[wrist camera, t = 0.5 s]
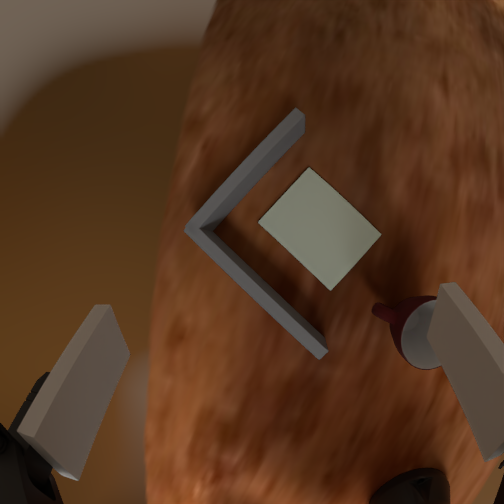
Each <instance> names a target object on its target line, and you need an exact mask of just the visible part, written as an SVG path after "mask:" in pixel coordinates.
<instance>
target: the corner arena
mask: <svg viewBox="0 0 504 504" xmlns="http://www.w3.org/2000/svg"><path fill="white" fill-rule="evenodd" d="M304 133H305V114H303V113H302V112H301V111H299V110H298V109H297V108H295V109H294V110H293V111H292V112H291V113H290V114H289V115H288V116H287V117H286V118H285V119H284V120H283V121H282V122H281V123H280V124H279V125H278V126H277V127H276V128H275V129H274V130H273V131H272V132H271V133H270V134H269V135H268V136H267V137H266V138H265V139H264V140H263V141H262V142H261V143H260V144H259V145H258V146H257V147H256V148H255V149H254V151H253V152H252V153H251V154H250V155H249V156H248V157H247V158H246V159H245V160H244V161H243V162H242V163H241V164H240V165H239V166H238V167H237V169H236V170H235V171H234V172H233V173H232V174H231V175H230V176H229V177H228V178H227V179H226V180H225V182H224V183H223V184H222V185H221V186H220V187H219V188H218V189H217V190H216V191H215V193H214V194H213V195H212V196H211V197H210V198H209V199H208V200H207V202H206V203H205V204H204V205H203V206H202V207H201V208H200V209H199V211H198V212H197V213H196V214H195V215H194V216H193V217H192V219H191V220H190V221H189V222H188V223H187V224H186V225H185V227H186V228H185V230H184V232H185V233H186V234H187V235H188V236H189V237H190V238H191V239H192V240H193V241H194V242H195V243H196V244H197V245H198V246H199V247H200V248H201V249H202V250H203V251H205V252H206V253H207V254H208V255H209V256H210V257H211V258H212V259H213V260H214V261H215V262H216V263H217V264H218V265H219V266H220V267H221V268H222V269H223V270H224V271H225V272H226V273H227V274H228V275H229V276H230V277H231V278H232V279H233V280H234V281H235V282H236V283H237V284H238V285H239V286H241V287H242V288H243V289H244V290H245V291H246V292H247V293H248V294H249V295H250V296H251V297H252V298H253V299H254V300H255V301H256V302H257V303H258V304H259V305H260V306H261V307H263V308H264V309H265V310H266V311H267V312H268V313H269V314H270V315H271V316H272V317H273V318H274V319H275V320H276V321H277V322H278V323H280V324H281V325H282V326H283V327H284V328H285V329H286V330H287V331H288V332H289V333H290V334H291V335H292V336H293V337H295V338H296V339H297V340H298V341H299V342H300V343H301V344H302V345H303V346H304V347H305V348H306V349H308V350H309V351H310V352H311V353H312V354H313V355H314V356H315V357H316V358H317V359H318V360H320V359H321V358H322V357H323V356H324V355H325V354H326V353H327V352H328V348H327V344H326V340H325V337H324V336H323V335H321V334H320V333H319V332H318V331H317V330H316V329H315V328H314V327H313V326H312V325H311V324H310V323H309V322H308V321H307V320H305V319H304V318H303V317H302V316H301V315H300V314H299V313H298V312H297V311H296V310H295V309H294V308H293V307H292V306H291V305H290V304H288V303H287V302H286V301H285V300H284V299H283V298H282V297H281V296H280V295H279V294H278V293H277V292H276V291H275V290H274V289H273V288H272V287H271V286H269V285H268V284H267V283H266V282H265V281H264V280H263V279H262V278H261V277H260V276H259V275H258V274H257V273H256V272H255V271H254V270H253V269H252V268H251V267H249V266H248V265H247V264H246V263H245V262H244V261H243V260H242V259H241V258H240V257H239V256H238V255H237V254H236V253H235V252H234V251H233V250H232V249H231V248H230V247H229V246H228V245H226V244H225V243H224V242H223V241H222V240H221V239H220V238H219V237H218V236H217V235H216V234H215V233H214V232H213V230H214V229H215V228H216V227H217V226H218V225H219V224H220V223H221V222H222V220H223V219H224V218H225V217H226V216H227V215H228V214H229V213H230V212H231V210H232V209H233V208H234V207H235V206H236V205H237V204H238V203H239V202H240V201H241V200H242V198H243V197H244V196H245V195H246V194H247V193H248V192H249V191H250V190H251V189H252V188H253V187H254V185H255V184H256V183H257V182H258V181H259V180H260V179H261V178H262V177H263V176H264V175H265V174H266V173H267V172H268V170H269V169H270V168H271V167H272V166H273V165H274V164H275V163H276V162H277V161H278V160H279V159H280V158H281V157H282V156H283V155H284V154H285V153H286V151H287V150H288V149H289V148H290V147H291V146H292V145H293V144H294V143H295V142H296V141H297V140H298V139H299V138H300V137H301V136H302V135H303V134H304ZM258 223H259V224H260V225H261V226H262V227H263V228H264V229H266V230H267V231H268V232H269V233H270V234H271V235H272V236H273V237H274V238H275V239H276V240H277V241H278V242H279V243H281V244H282V245H283V246H284V247H285V248H286V249H287V250H288V251H289V252H290V253H291V254H292V255H293V256H294V257H295V258H297V259H298V260H299V261H300V262H301V263H302V264H303V265H304V266H305V267H306V268H307V269H308V270H309V271H310V272H311V273H312V274H313V275H314V276H316V277H317V278H318V279H319V280H320V281H321V282H322V283H323V284H324V285H325V286H326V287H327V288H328V289H329V290H330V291H331V290H332V289H333V288H334V287H335V286H336V285H337V283H338V282H339V281H340V280H341V279H342V278H343V277H344V276H345V275H346V274H347V273H348V272H349V271H350V269H351V268H352V267H353V266H354V265H355V264H356V263H357V262H358V261H359V260H360V258H361V257H362V256H363V255H364V254H365V253H366V252H367V251H368V249H369V248H370V247H371V246H372V245H373V244H374V243H375V241H376V240H377V239H378V238H379V237H380V236H381V235H382V234H381V233H380V232H379V231H377V230H376V229H375V228H374V227H373V226H372V225H371V224H370V223H369V222H368V221H367V220H366V219H365V218H364V217H363V216H362V215H361V214H360V213H359V212H358V211H357V210H356V209H355V208H354V207H353V206H352V205H351V204H349V203H348V202H347V201H346V200H345V199H344V198H343V197H342V196H341V195H340V194H339V193H338V192H337V191H335V190H334V189H333V188H332V187H331V186H330V185H329V184H328V183H327V182H325V181H324V180H323V179H322V178H321V177H320V176H319V175H318V174H316V173H315V172H314V171H313V170H312V169H311V168H310V167H309V168H308V169H307V170H306V171H305V172H304V173H303V174H302V175H301V176H300V177H299V178H298V179H297V181H296V182H295V183H294V184H293V185H292V186H291V187H290V188H289V189H288V190H287V191H286V192H285V193H284V195H283V196H282V197H281V198H280V199H279V200H278V201H277V202H276V203H275V204H274V205H273V206H272V207H271V209H270V210H269V211H268V212H267V213H266V214H265V215H264V216H263V217H262V218H261V219H260V220H259V222H258Z"/></svg>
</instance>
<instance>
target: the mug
mask: <svg viewBox="0 0 504 504" xmlns="http://www.w3.org/2000/svg"><path fill="white" fill-rule="evenodd" d="M436 300H437V297H436V296H417V297H410V298H407V299H405V300H403V301H402V302H400V303H399V304H398V305H397V306H396V307H395V308H394V309H392V308H390V307H388V306H386V305H384V304H382V303H378V302H377V303H375V304H374V306H373V308H372V313H373V314H374V315H375V316H377V317H379V318H380V319H382V320H384V321H387V322H389V323H390V331H391V334H392V337H393V340H394V343H395V346H396V348H397V350H398V352H399V353H400V354H401V356H402V357H403V358H404V359H405V360H406V361H407V362H408V363H409V364H410V365H412V366H414V367H415V368H418V369H422V370H430V369H435V368H437V367H440V366H441V364H440V362H439V360H438V358H437V356H436V354H435V352H434V350H433V348H432V347H431V345H430V343H429V341H428V339H427V333H428V330H429V326H430V323H431V319H432V315H433V311H434V308H435V304H436Z"/></svg>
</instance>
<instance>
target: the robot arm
mask: <svg viewBox="0 0 504 504" xmlns="http://www.w3.org/2000/svg"><path fill="white" fill-rule="evenodd" d="M427 339H428V341H429V343H430V345H431V347H432V348H433V350H434V352H435V354H436V356H437V358H438V360H439V362H440V364H441V366H442V368H443V370H444V371H445V373H446V375H447V377H448V379H449V382H450V384H451V386H452V388H453V390H454V392H455V394H456V396H457V398H458V400H459V402H460V405H461V407H462V409H463V411H464V413H465V416H466V418H467V420H468V422H469V425H470V427H471V429H472V432H473V434H474V436H475V439H476V441H477V444H478V446H479V449H480V451H481V454H482V456H483V459H484V462H486V461H489V460H491V459H493V458H495V457H498V456H500V455H502V454H503V453H504V344H503V343H502V341H501V340H500V338H499V337H498V336H497V334H496V333H495V331H494V330H493V329H492V327H491V326H490V325H489V323H488V322H487V321H486V320H485V318H484V317H483V316H482V314H481V313H480V312H479V310H478V309H477V308H476V307H475V305H474V304H473V303H472V302H471V300H470V299H469V298H468V297H467V295H466V294H465V293H464V292H463V291H462V289H461V288H460V287H459V286H458V285H457V283H456V282H451V283H444V284H440V287H439V291H438V295H437V300H436V304H435V308H434V311H433V315H432V319H431V323H430V326H429V330H428V333H427ZM129 356H130V352H129V350H128V348H127V345H126V343H125V340H124V338H123V336H122V333H121V331H120V328H119V326H118V323H117V321H116V318H115V316H114V313H113V310H112V308H111V305H95V306H94V307H93V309H92V310H91V312H90V313H89V314H88V316H87V317H86V319H85V320H84V322H83V323H82V325H81V326H80V328H79V329H78V331H77V332H76V333H75V335H74V337H73V338H72V339H71V341H70V343H69V344H68V346H67V347H66V349H65V350H64V352H63V353H62V355H61V356H60V358H59V360H58V361H57V363H56V364H55V366H54V368H53V369H52V371H51V372H46V373H45V374H44V375H43V376H42V377H40V378H39V379H38V380H37V381H36V383H35V385H34V386H33V388H32V390H31V393H29V395H28V396H27V398H26V401H25V402H24V403H23V405H22V406H21V408H20V410H19V412H18V413H17V415H16V417H15V419H14V421H13V422H12V424H11V426H10V428H9V429H8V431H7V430H6V428H5V427H4V426H3V425H2V424H1V423H0V504H63V501H62V498H61V496H60V493H59V490H58V487H57V484H56V481H55V478H54V477H53V475H52V474H51V471H52V468H54V469H55V470H56V471H58V472H59V473H60V474H61V475H62V476H65V477H68V478H71V479H74V480H77V481H79V479H80V476H81V473H82V470H83V468H84V465H85V462H86V460H87V457H88V455H89V452H90V449H91V447H92V444H93V442H94V439H95V436H96V434H97V431H98V429H99V427H100V424H101V421H102V419H103V417H104V414H105V412H106V410H107V407H108V404H109V402H110V400H111V397H112V395H113V393H114V391H115V388H116V386H117V384H118V381H119V379H120V377H121V374H122V372H123V370H124V368H125V366H126V363H127V361H128V359H129ZM503 466H504V460H503V462H501V464H500V466H499V469H501V468H502V467H503ZM369 504H450V485H449V482H448V480H447V478H446V476H445V475H444V474H443V473H442V472H441V471H439V470H437V469H433V468H422V469H416V470H412V471H409V472H406V473H404V474H401V475H399V476H397V477H395V478H393V479H392V480H390V481H389V482H387V483H386V484H384V485H383V486H382V487H381V488H380V489H379V490H378V491H377V492H376V493H375V494H374V495H373V497H372V499H371V500H370V503H369ZM494 504H504V475H503V478H502V481H501V484H500V487H499V490H498V493H497V496H496V498H495V501H494Z"/></svg>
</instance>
